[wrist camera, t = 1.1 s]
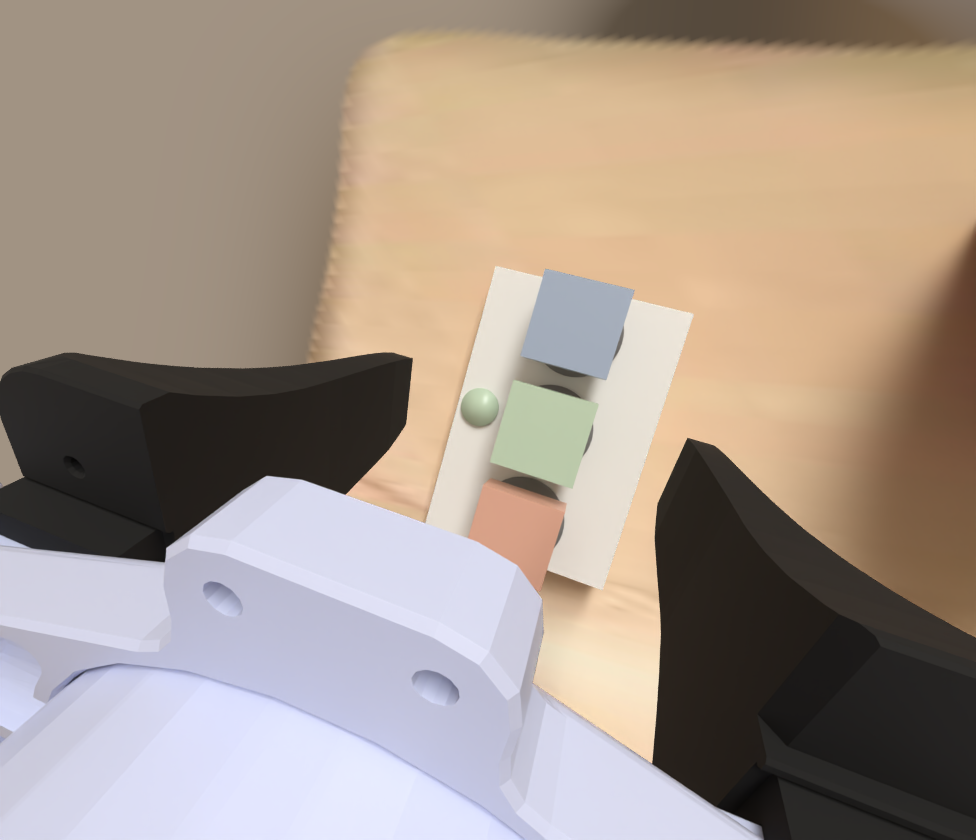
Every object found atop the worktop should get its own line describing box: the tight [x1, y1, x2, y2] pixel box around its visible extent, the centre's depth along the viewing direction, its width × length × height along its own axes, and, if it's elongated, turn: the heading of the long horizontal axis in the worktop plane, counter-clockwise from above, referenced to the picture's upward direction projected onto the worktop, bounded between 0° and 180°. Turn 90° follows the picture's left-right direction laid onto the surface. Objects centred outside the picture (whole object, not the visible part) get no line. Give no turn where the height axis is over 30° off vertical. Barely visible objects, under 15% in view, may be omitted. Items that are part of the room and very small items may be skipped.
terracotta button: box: [468, 478, 567, 591], centre depth 20 cm, size 4×4×2 cm
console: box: [425, 266, 694, 590], centre depth 22 cm, size 13×9×2 cm
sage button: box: [490, 380, 599, 489], centre depth 19 cm, size 4×4×2 cm
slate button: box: [520, 269, 634, 380], centre depth 19 cm, size 4×4×2 cm
